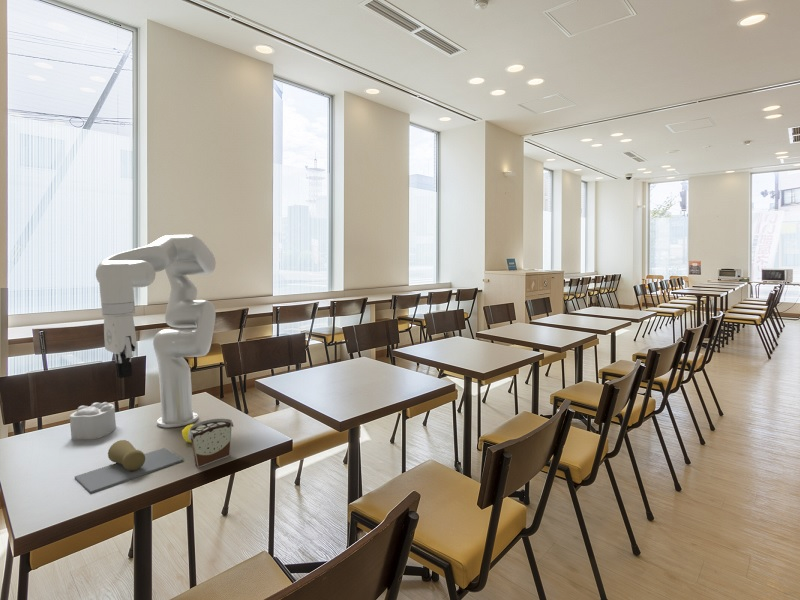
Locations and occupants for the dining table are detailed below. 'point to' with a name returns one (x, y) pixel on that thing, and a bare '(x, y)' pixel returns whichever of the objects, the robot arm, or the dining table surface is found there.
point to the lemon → (186, 432)
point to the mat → (126, 471)
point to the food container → (210, 440)
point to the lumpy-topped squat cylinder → (93, 421)
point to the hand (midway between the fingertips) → (124, 376)
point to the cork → (126, 455)
